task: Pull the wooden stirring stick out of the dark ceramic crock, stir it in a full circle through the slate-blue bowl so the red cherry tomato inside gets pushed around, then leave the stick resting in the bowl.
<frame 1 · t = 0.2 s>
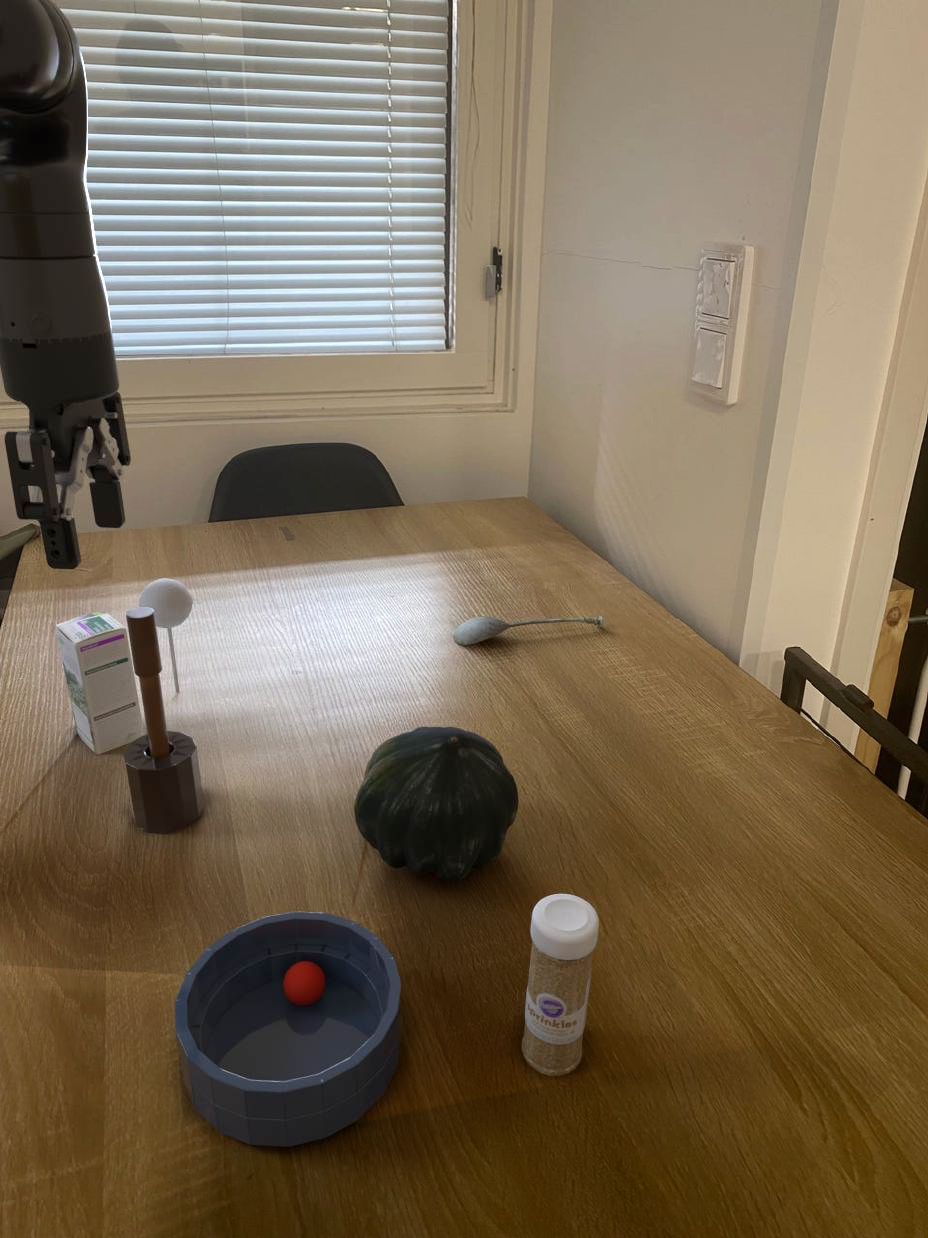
hand: (89, 545, 70), 32 cm above the table, tool pointing down, fingers open, 8 cm apart
soupspoon: (528, 634, 129), on the table
bowl: (294, 1050, 67), on the table
sprinkles bottle: (552, 1054, 67), on the table
crock: (169, 816, 91), on the table
syrup box: (111, 741, 103), on the table
squash: (437, 850, 87), on the table
stirring stick: (168, 811, 90), point 1 cm above the table, touching crock
cherry tomato: (304, 983, 70), point 2 cm above the table, touching bowl
lollipop: (177, 693, 113), on the table
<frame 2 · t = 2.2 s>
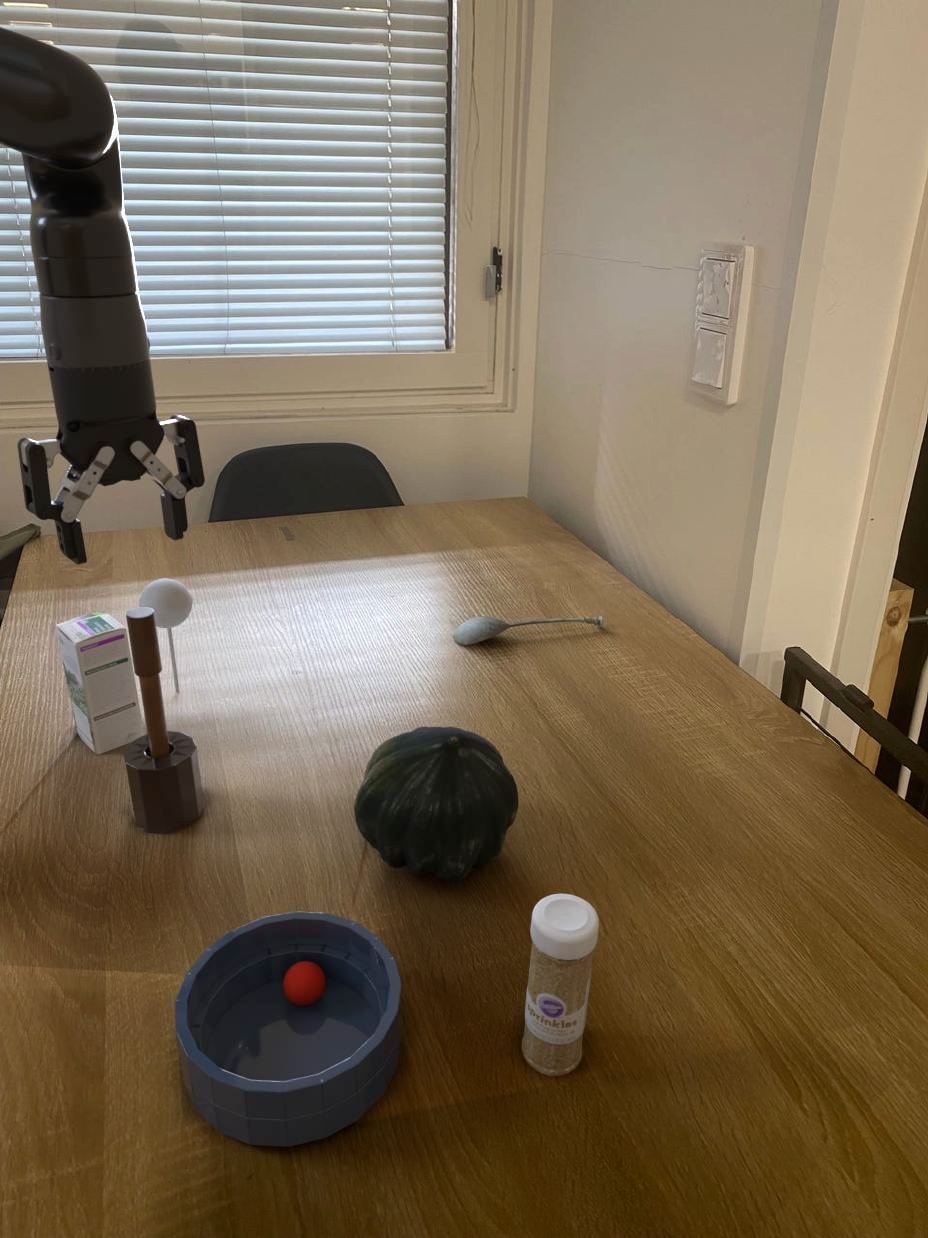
hand: (127, 549, 78), 29 cm above the table, tool pointing down, fingers open, 8 cm apart
nothing on the table moved.
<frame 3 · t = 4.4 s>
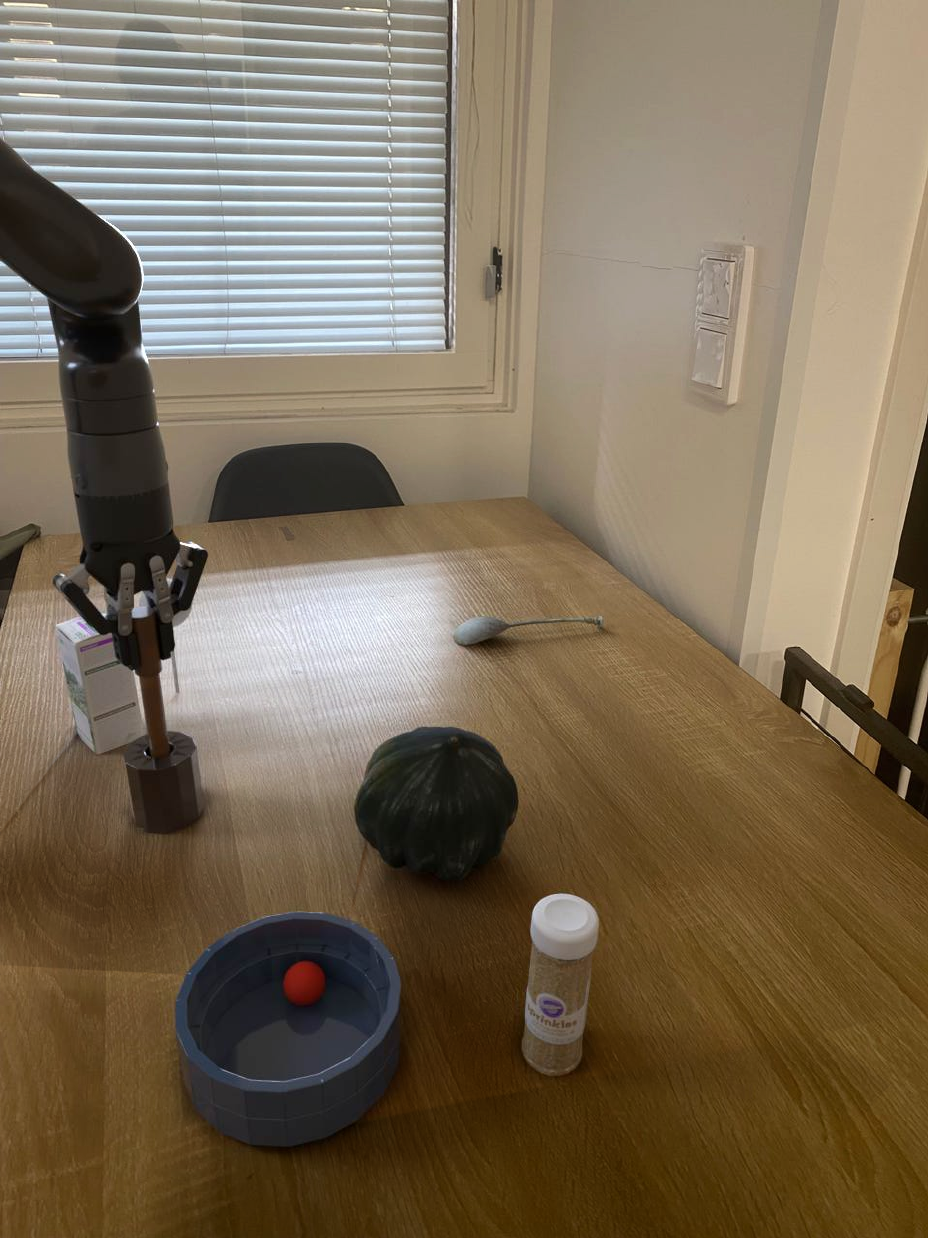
hand: (146, 660, 83), 18 cm above the table, tool pointing down, fingers closed on stirring stick, 2 cm apart
stirring stick: (168, 811, 90), point 1 cm above the table, touching crock, gripper
everything else where it was.
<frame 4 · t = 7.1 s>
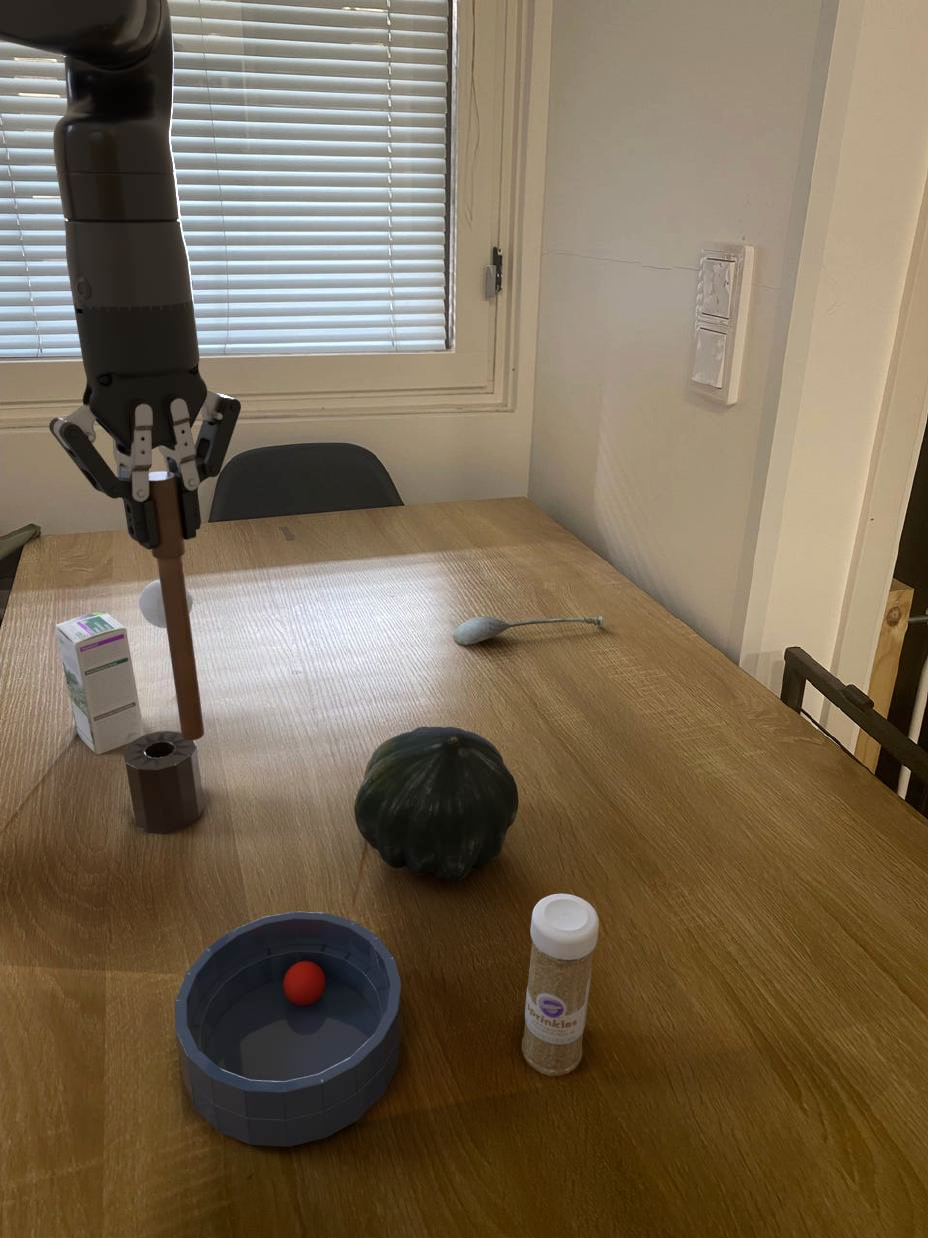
hand: (166, 540, 67), 33 cm above the table, tool pointing down, fingers closed on stirring stick, 2 cm apart
stirring stick: (193, 734, 75), point 16 cm above the table, touching gripper
everything else where it was.
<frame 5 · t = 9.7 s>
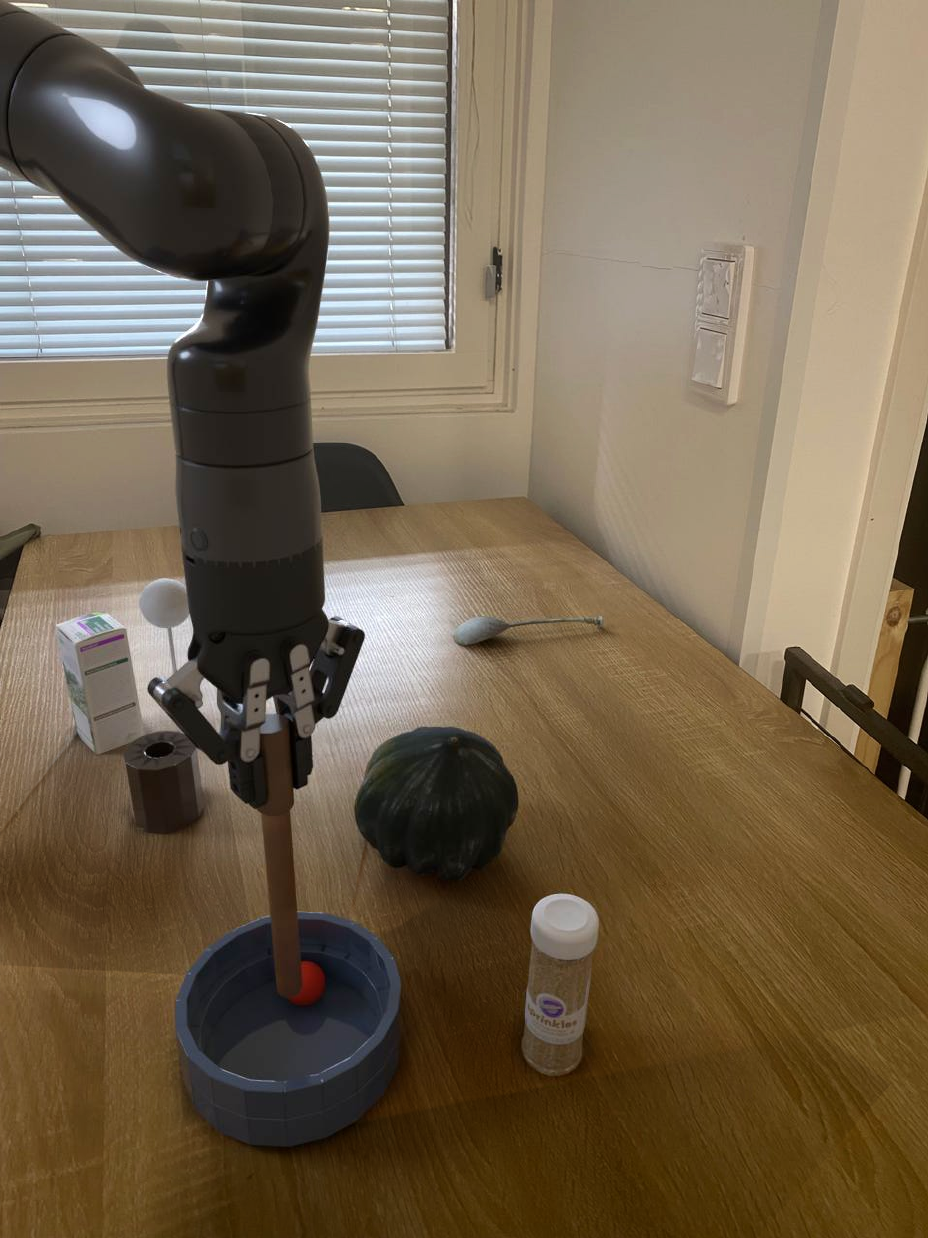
hand: (273, 790, 57), 23 cm above the table, tool pointing down, fingers closed on stirring stick, 2 cm apart
stirring stick: (289, 988, 64), point 6 cm above the table, touching gripper
everything else where it was.
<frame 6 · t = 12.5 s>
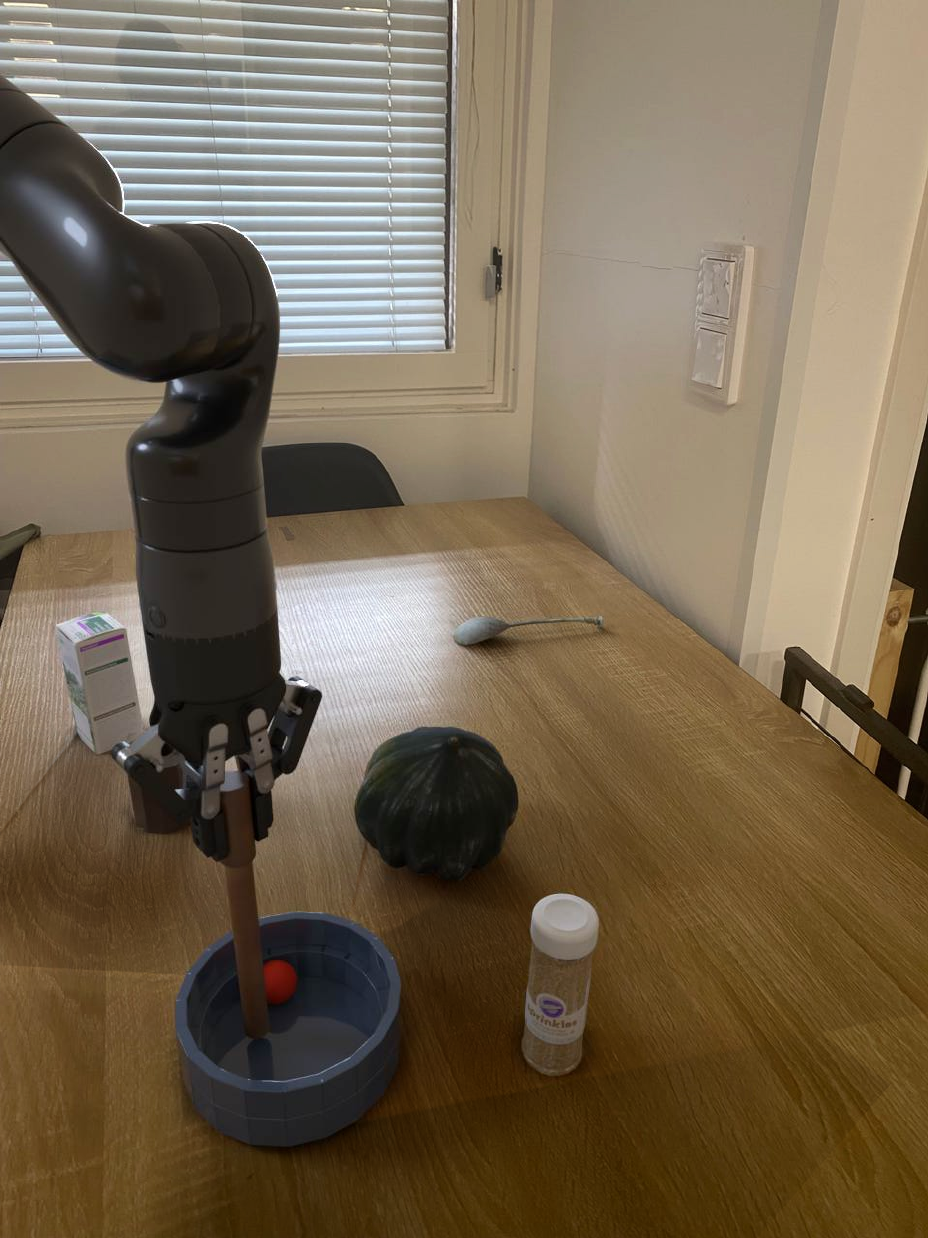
hand: (235, 843, 59), 19 cm above the table, tool pointing down, fingers closed on stirring stick, 2 cm apart
stirring stick: (257, 1029, 67), point 2 cm above the table, touching gripper
cherry tomato: (275, 982, 70), point 2 cm above the table, tilted 23°, touching bowl
everything else where it was.
when the fingers open (18 cm above the table, at t = 15.1 s): stirring stick stays where it is, resting on bowl.
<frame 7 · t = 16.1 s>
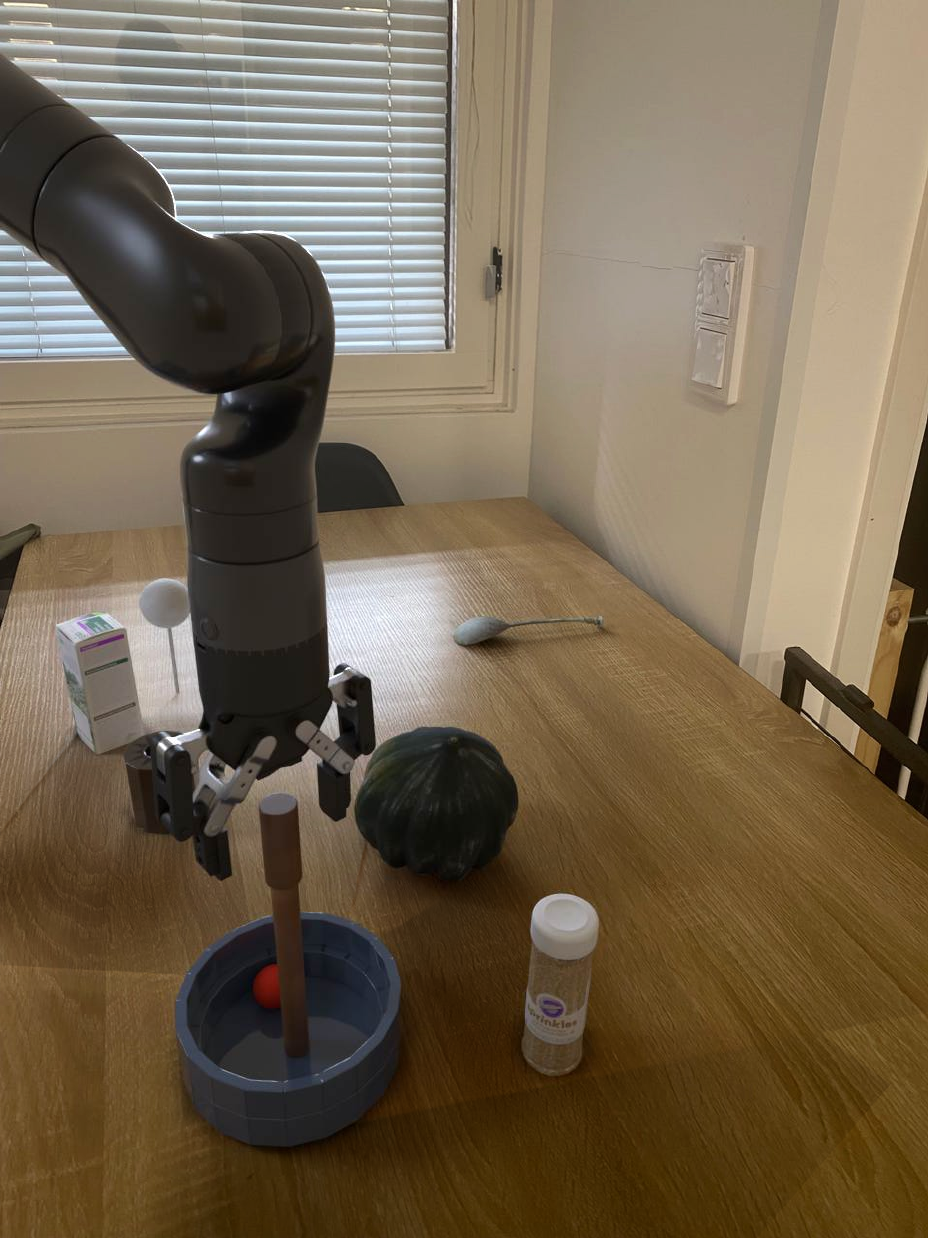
hand: (277, 842, 58), 19 cm above the table, tool pointing down, fingers open, 8 cm apart
stirring stick: (297, 1047, 66), point 1 cm above the table, touching bowl
cherry tomato: (274, 986, 69), point 2 cm above the table, tilted 8°, touching bowl
everything else where it was.
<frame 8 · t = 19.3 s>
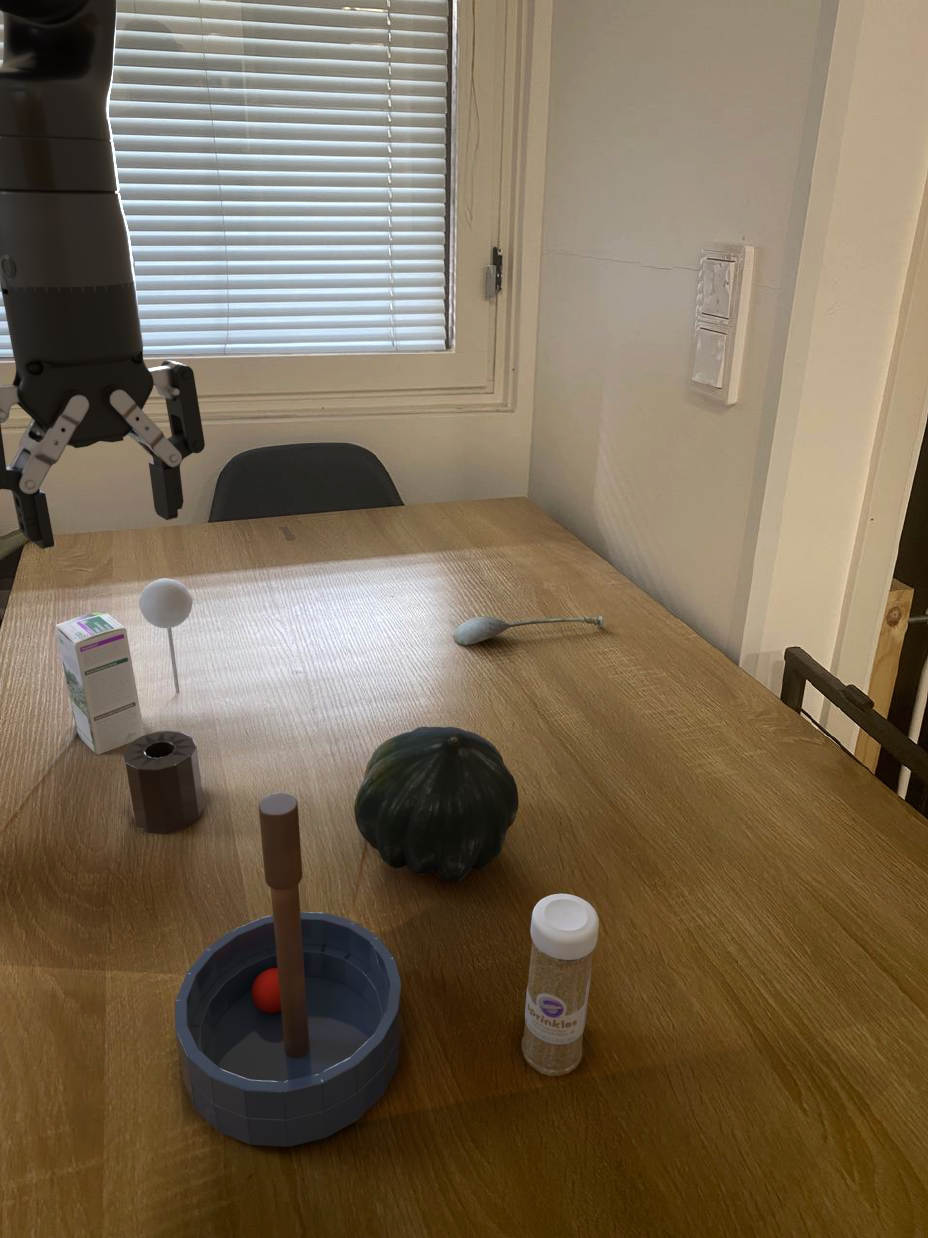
hand: (107, 530, 61), 36 cm above the table, tool pointing down, fingers open, 8 cm apart
at the end: cherry tomato moved 2.4 cm from its start; cherry tomato inside the target area in the bowl (4.0 cm from its centre), point 2.2 cm above the bowl's base; stirring stick inside the target area in the bowl (0.4 cm from its centre), point 0.6 cm above the bowl's base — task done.
